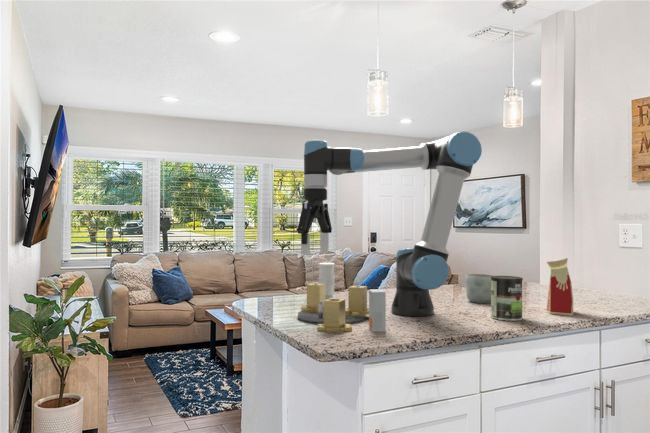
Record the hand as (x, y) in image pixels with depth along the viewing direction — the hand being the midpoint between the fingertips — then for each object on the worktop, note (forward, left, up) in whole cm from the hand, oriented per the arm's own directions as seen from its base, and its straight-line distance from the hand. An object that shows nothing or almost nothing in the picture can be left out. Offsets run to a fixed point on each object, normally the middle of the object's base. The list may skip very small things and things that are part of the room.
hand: (315, 253), depth 168 cm
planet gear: (-10, +7, -22) cm, 25 cm away
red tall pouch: (-74, -53, -23) cm, 94 cm away
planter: (-45, -67, -23) cm, 84 cm away
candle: (+16, -48, -23) cm, 56 cm away
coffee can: (-57, -34, -23) cm, 70 cm away
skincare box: (-22, +2, -23) cm, 31 cm away
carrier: (-2, -10, -22) cm, 25 cm away
